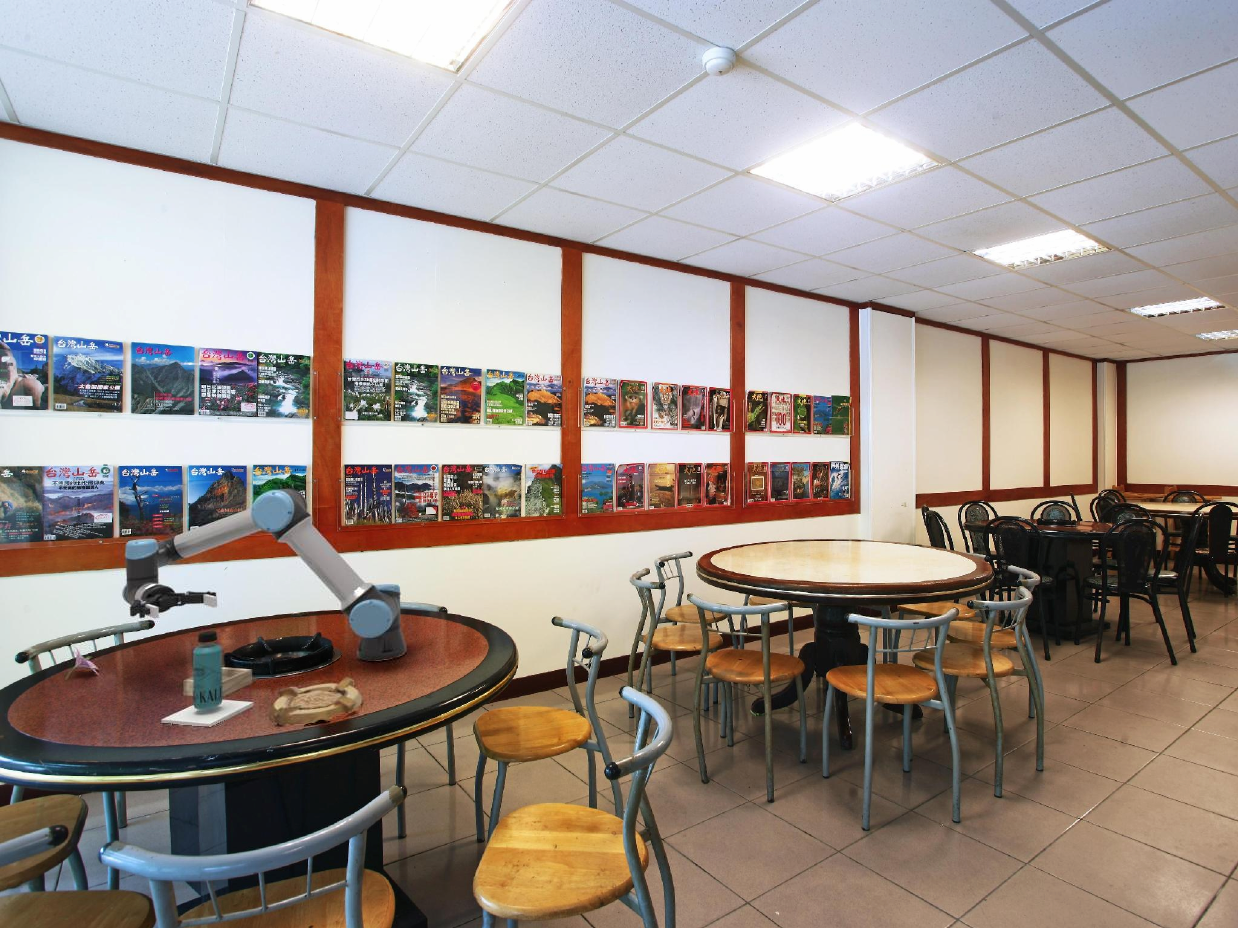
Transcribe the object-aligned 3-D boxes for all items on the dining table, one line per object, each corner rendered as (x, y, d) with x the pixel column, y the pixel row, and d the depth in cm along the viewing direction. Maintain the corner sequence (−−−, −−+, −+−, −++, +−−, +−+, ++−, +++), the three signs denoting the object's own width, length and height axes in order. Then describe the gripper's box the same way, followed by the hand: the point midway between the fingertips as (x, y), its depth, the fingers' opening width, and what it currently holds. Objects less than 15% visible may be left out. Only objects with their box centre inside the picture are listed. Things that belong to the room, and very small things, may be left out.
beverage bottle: (201, 706, 170) (200, 629, 169) (228, 705, 170) (227, 628, 170) (187, 716, 163) (185, 636, 163) (215, 715, 164) (214, 635, 163)
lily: (84, 687, 190) (104, 654, 194) (40, 674, 188) (61, 641, 192) (100, 686, 201) (118, 655, 205) (58, 674, 199) (77, 643, 202)
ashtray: (294, 692, 183) (294, 674, 183) (379, 692, 182) (379, 674, 182) (243, 728, 159) (243, 707, 159) (341, 728, 159) (340, 708, 159)
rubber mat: (253, 706, 172) (253, 702, 172) (210, 728, 158) (210, 723, 158) (207, 702, 175) (207, 698, 175) (161, 723, 161) (161, 719, 161)
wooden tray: (252, 683, 189) (251, 669, 189) (220, 698, 178) (219, 683, 178) (217, 680, 192) (217, 667, 192) (183, 695, 180) (183, 680, 180)
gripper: (205, 602, 195) (238, 611, 182) (101, 621, 175) (130, 632, 162) (204, 577, 195) (237, 584, 182) (100, 592, 175) (129, 602, 162)
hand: (187, 607), depth 172 cm, fingers open, 13 cm apart
